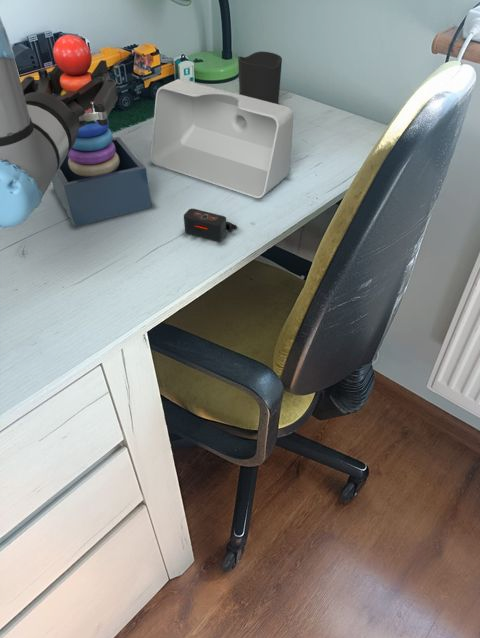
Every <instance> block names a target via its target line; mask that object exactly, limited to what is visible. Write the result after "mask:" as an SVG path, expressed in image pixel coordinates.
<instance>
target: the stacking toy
mask: <svg viewBox="0 0 480 638" xmlns="http://www.w3.org/2000/svg"><path fill="white" fill-rule="evenodd" d="M52 53H53V54H52V55H53V59H54V61H55V64H56V65H58V67H59V68H60V69H61V70H62V71H63V72H64V74H62V75H61V77H60V85H61V87H62V88H63V90H62V91H61V93H60V96H62V95H64V94H65V93H67V92H68V91H77V90H78V89H80V88H81V87H82V86H84V85H85V84H87V83H88V82H90V81H91V76H90V75H91V74H92V72H90V71H89V70H90V68H91V66H92V60H93V57H92V51H91V49H90V46H89V45H88V43H87V42H86V41H85V40H84V39H82V38H81V37H80V36H78V35H75V34H74V35H73V34H64V35H62V36H60V37H59V38H58V39H56V41H55V42H54V45H53V50H52ZM107 120H108V124H107V125H105V126H101V125H99V124H98V122H94V120H90V121H87V123H86V125H85V126H83V127H81V128H79V130H78V135H77V138H76V141H75V143H74V145H73V147H72V148H71V150H70V151H69V153H68V157H69V160H68V165H69V167H70V169H71V170H72V171H73V172H74V173H76V174H78V175H80V176H85V177H95V176H99V175H104V174H109V173H111V172H113V171H114V170H116V169H117V167H118V166H119V162H120V160H119V156H118V155H117V153H116V152H115V151H116V148H115V145H114V143H113V142H112V138H114V137H113V132H112V130H111V129H110V128H109V126H110V122H109V119H108V118H107Z"/></svg>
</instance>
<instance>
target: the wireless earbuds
mask: <svg viewBox="0 0 480 638" xmlns="http://www.w3.org/2000/svg"><path fill="white" fill-rule="evenodd" d="M183 222H184V223H183V227H184V232H185V234H187V235H190V236H193V237H197V238H201V239H204V240H208V241H212V242H215V243H221V242H222V241H223V240H224V239H225V238H226V236H227V232H228V233H232V232H233V231H235V230H237V229H238V226H237V225H236V224H234V223H232V222H229V221H227V217H226V216H224V215H221V214H216V213H213V212H208V211H205V210H201V209H198V208H189V209H188V210H187V211H185V213H184V214H183Z"/></svg>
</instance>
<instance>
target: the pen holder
mask: <svg viewBox="0 0 480 638" xmlns="http://www.w3.org/2000/svg"><path fill="white" fill-rule="evenodd" d="M237 59H238V60H237V64H238V65H237V67H238V89H239V90H238V92H239V93H238V94H239V95H243V96H247V97H251V98H255V99H259V100H263V101H267V102H271V103H275V104H279V100H280V91H281V90H280V89H281V88H280V87H281V76H282V74H281V73H282V63H283V58H282V56H281V55H279V54H278V53H274V52H271V51H261V50H260V51H256V52H254V53H251V54H250V55H248V56H238V57H237Z"/></svg>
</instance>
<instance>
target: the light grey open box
mask: <svg viewBox="0 0 480 638" xmlns="http://www.w3.org/2000/svg"><path fill="white" fill-rule="evenodd" d="M155 93H156V94H155V100H154V101H155V102H154V103H155V104H154V111H153V123H152V133H151V142H150V143H151V145H150V153H149V154H150V160H151V162H152V163H153V164H154V165H155V166H158V167H161V168H164V169H167V170H171V171H173V172H177V173H179V174H182V175H185V176H188V177H191V178H195V179H197V180H201V181H203V182H207V183H209V184H213V185H215V186H218V187H222V188H224V189H227V190H231V191H233V192H237V193H239V194H243V195H246V196H249V197H251V198H255V199H261V198H263V197H265V195H266V194H268V193H269V192H270V191H271V190H272V189H273V188H275V187H276V186H277V185H278V184H279V183H280V182H282V181H283V180H285V178H287V177H288V176H289V175H290V172H291V160H292V159H291V157H292V145H293V143H292V142H293V130H294V113H293V111H292V109H291V108H290V107H288V106H286V105H282V104H279V103H278V104H275V103H271V102H267V101H263V100H259V99H255V98H251V97H247V96H243V95H240V93H235V92H232V91H227V90H223V89H220V88H216V87H211V86H208V85H204V84H199V83H196V82H192V81H188V80H184V79H180V78H177V79H175V80H173V81H171V82H169V83H167V84H164V85H162V86H160V87H159V88H158V89H157V91H156V92H155Z"/></svg>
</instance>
